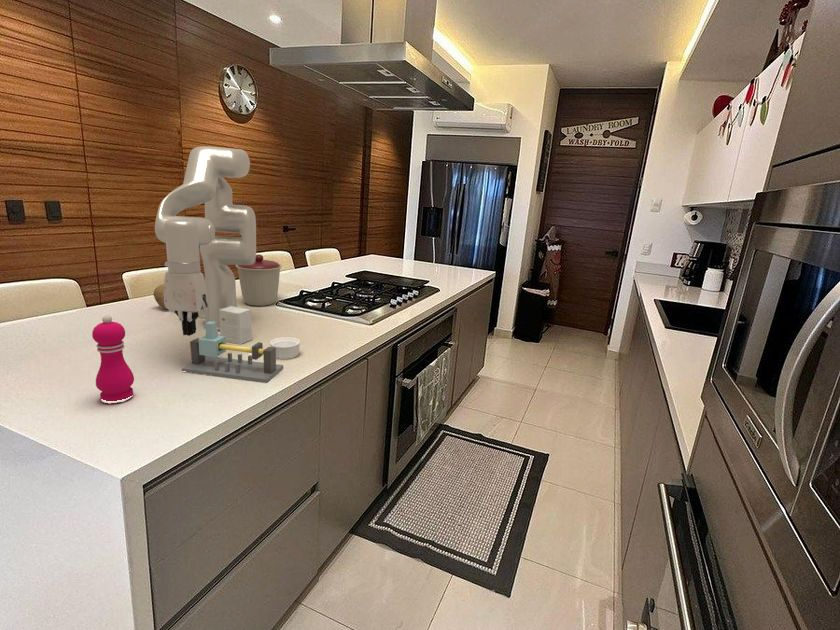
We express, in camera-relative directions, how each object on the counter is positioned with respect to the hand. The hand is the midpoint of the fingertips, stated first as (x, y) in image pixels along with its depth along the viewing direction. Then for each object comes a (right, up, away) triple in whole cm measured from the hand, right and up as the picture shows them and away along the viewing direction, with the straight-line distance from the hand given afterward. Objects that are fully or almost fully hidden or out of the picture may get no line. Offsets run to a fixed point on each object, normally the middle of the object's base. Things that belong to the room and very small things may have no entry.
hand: (189, 333), depth 119 cm
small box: (+3, -3, +24) cm, 24 cm away
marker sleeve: (+6, -5, +1) cm, 8 cm away
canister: (-6, +10, +68) cm, 69 cm away
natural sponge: (-35, +7, +51) cm, 63 cm away
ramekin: (+22, -7, +15) cm, 27 cm away
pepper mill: (-7, -14, -18) cm, 24 cm away
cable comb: (+12, -10, +1) cm, 15 cm away
